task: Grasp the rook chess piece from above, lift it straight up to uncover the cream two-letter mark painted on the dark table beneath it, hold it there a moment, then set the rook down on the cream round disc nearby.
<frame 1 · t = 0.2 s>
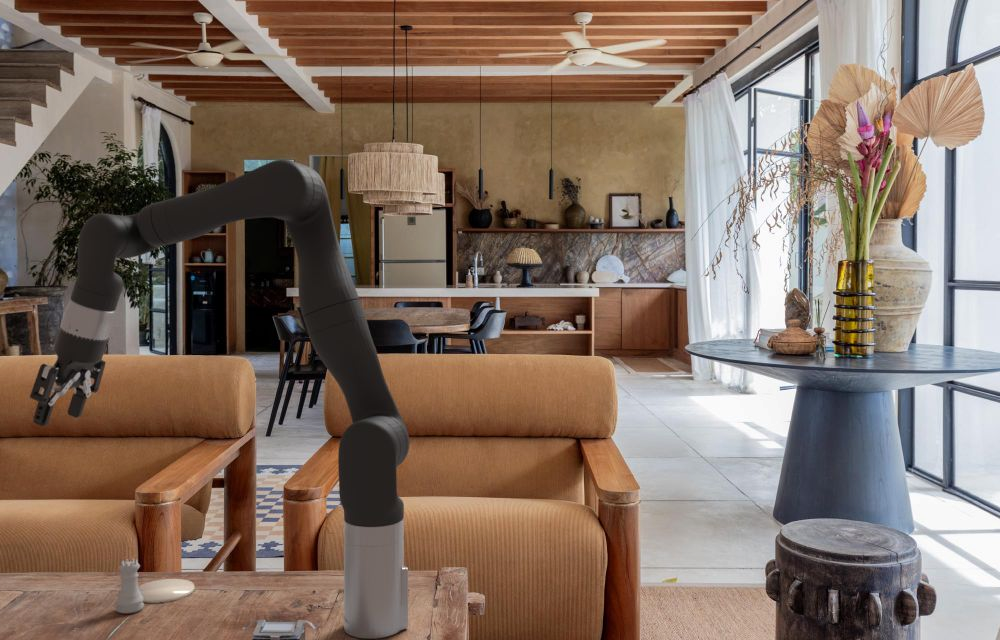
hand: (57, 420, 144), 30 cm above the table, tool tilted 20°, fingers open, 8 cm apart
cream round disc: (163, 592, 149), on the table
rook chess piece: (129, 610, 141), on the table, touching code mark
code mark: (129, 609, 141), on the table
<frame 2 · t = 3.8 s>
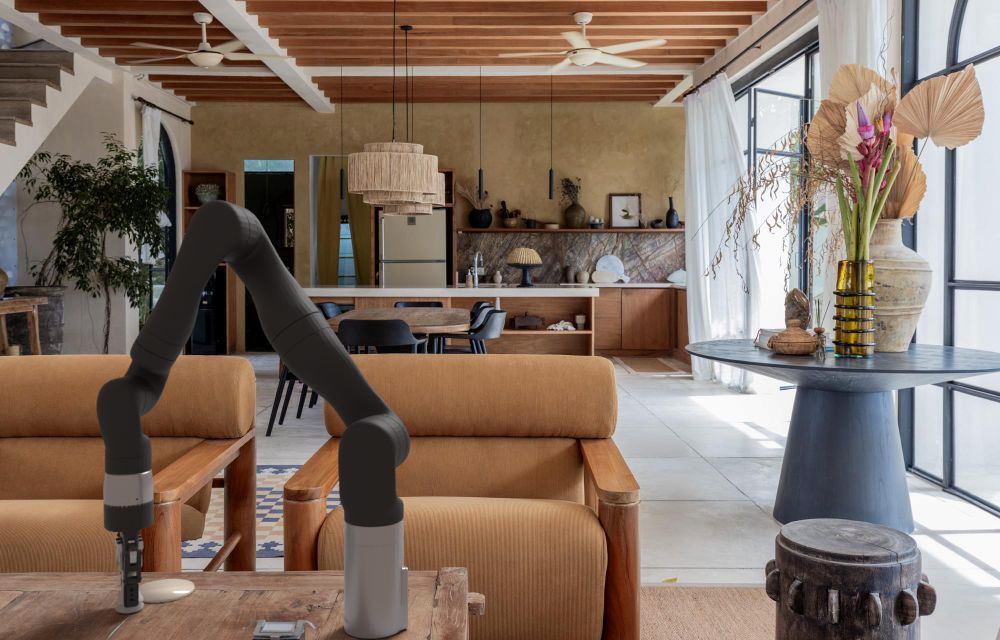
hand: (129, 600, 141), 1 cm above the table, tool pointing down, fingers closed on rook chess piece, 4 cm apart
rook chess piece: (129, 610, 141), on the table, touching code mark, gripper
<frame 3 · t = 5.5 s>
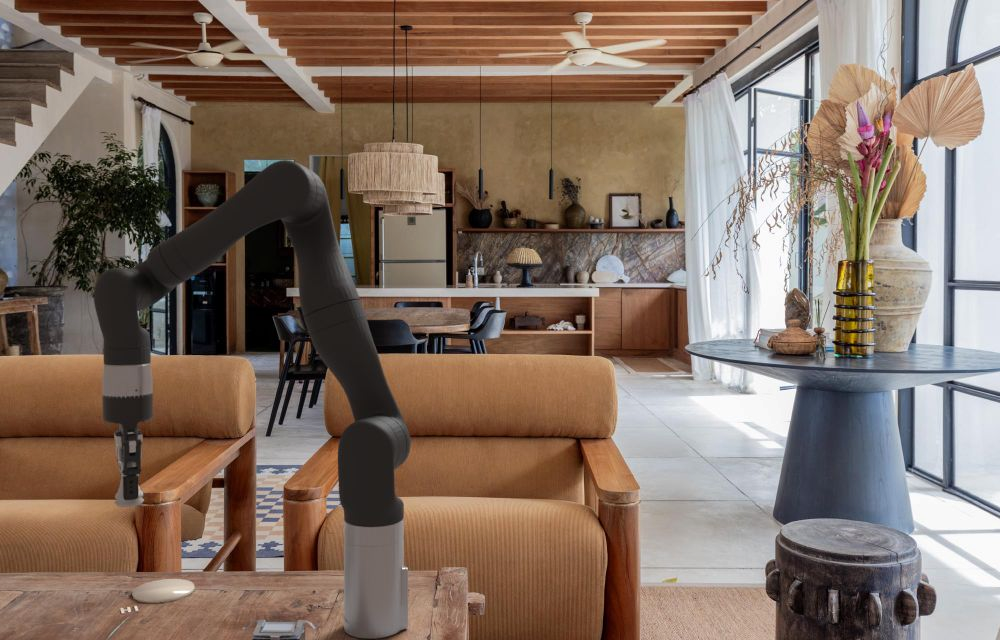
hand: (129, 495, 140), 19 cm above the table, tool pointing down, fingers closed on rook chess piece, 4 cm apart
rook chess piece: (129, 505, 140), point 17 cm above the table, touching gripper
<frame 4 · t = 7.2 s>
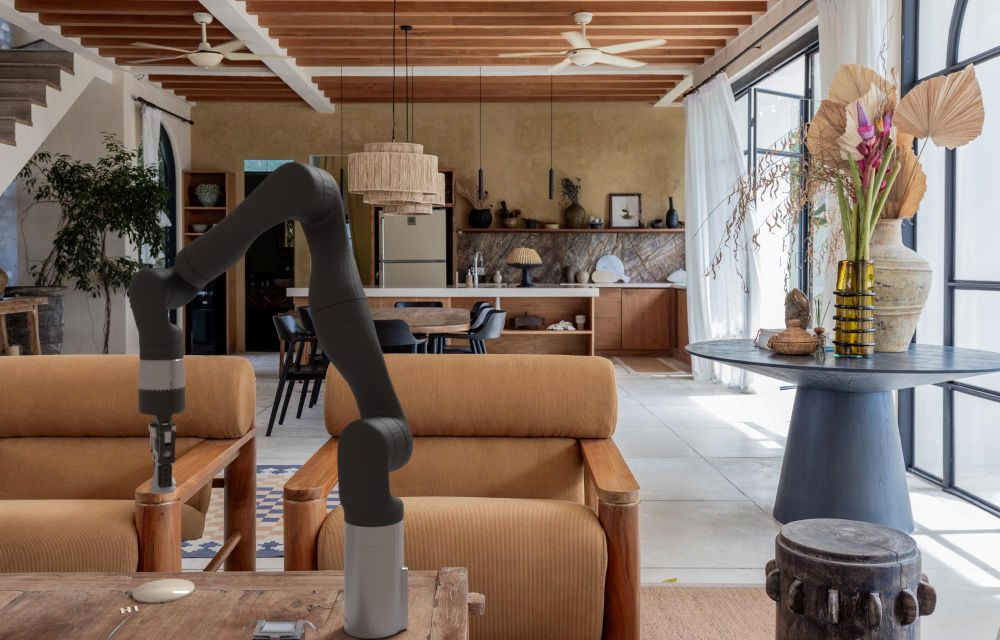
hand: (162, 483, 148), 19 cm above the table, tool pointing down, fingers closed on rook chess piece, 4 cm apart
rook chess piece: (162, 492, 148), point 17 cm above the table, touching gripper
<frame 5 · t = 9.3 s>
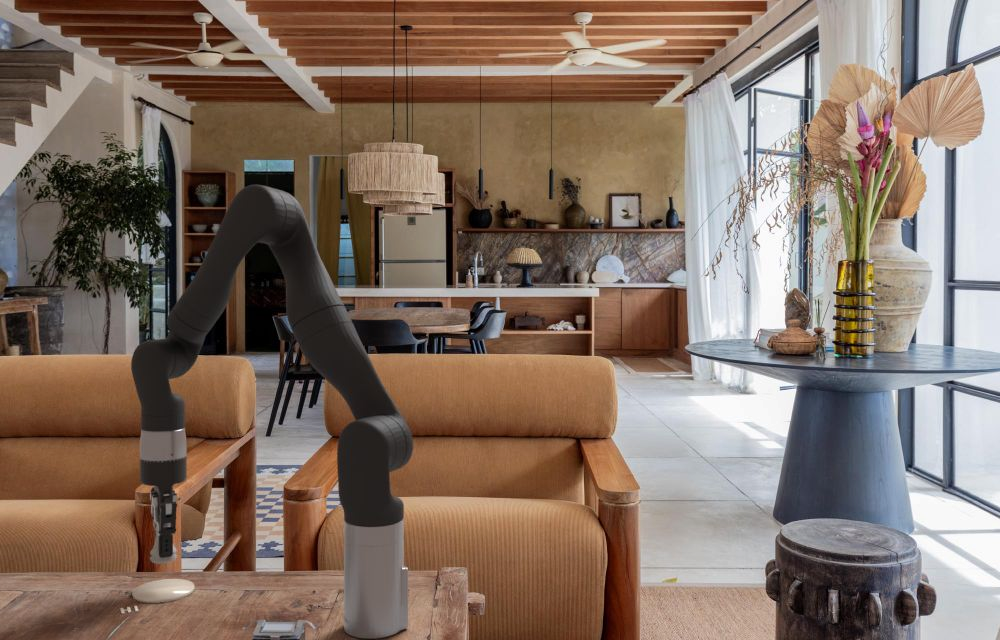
hand: (163, 552, 149), 7 cm above the table, tool pointing down, fingers closed on rook chess piece, 4 cm apart
rook chess piece: (163, 561, 149), point 5 cm above the table, touching gripper
when the fingers open (3 cm above the table, at t = 11.0 s): rook chess piece stays where it is, resting on cream round disc.
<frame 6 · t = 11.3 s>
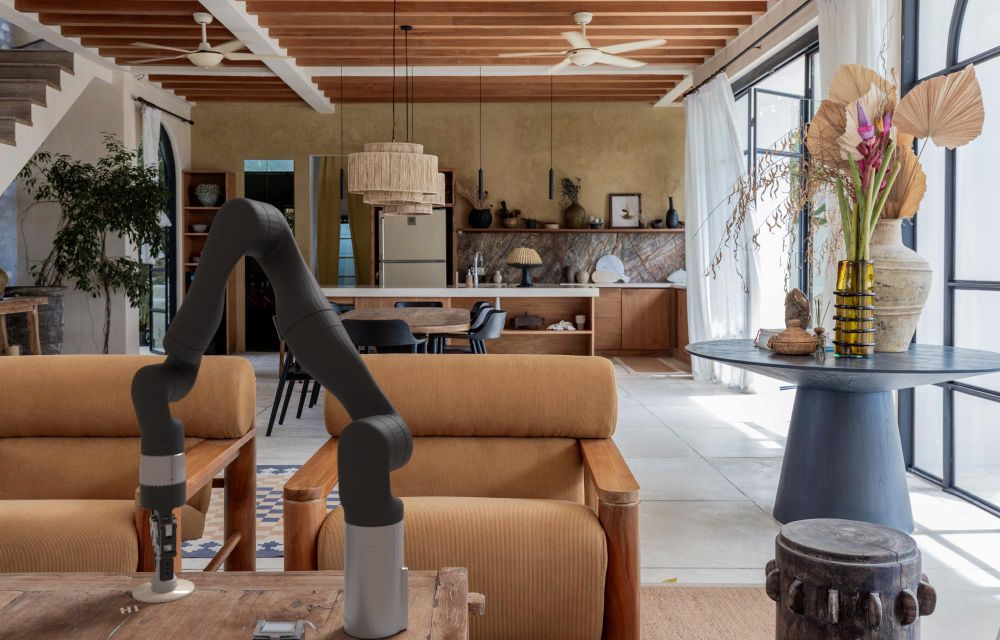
hand: (163, 573, 149), 3 cm above the table, tool pointing down, fingers open, 6 cm apart
rook chess piece: (164, 589, 149), resting on cream round disc
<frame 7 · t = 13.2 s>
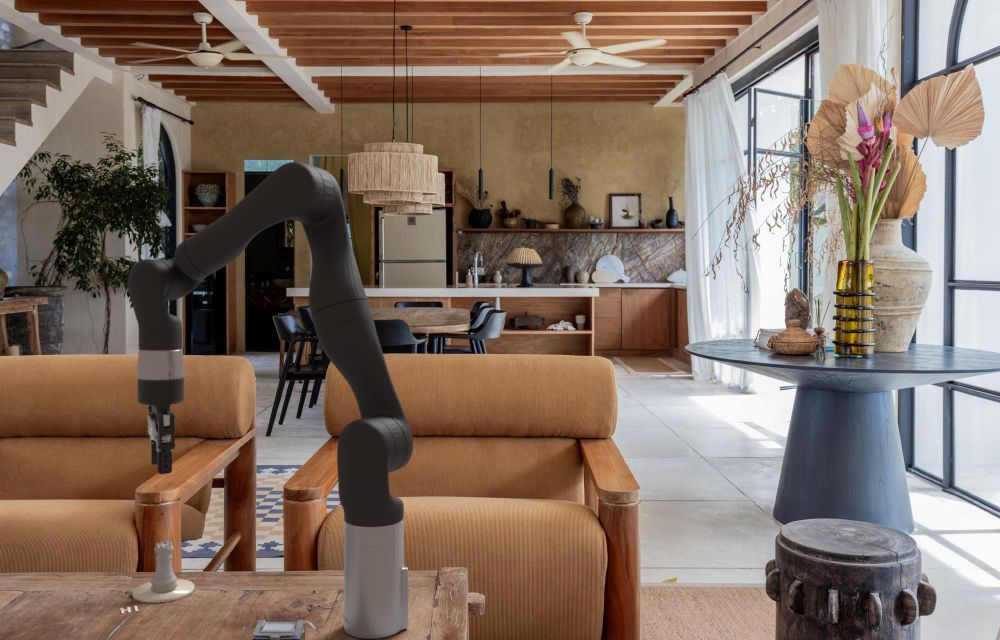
hand: (161, 468, 149), 21 cm above the table, tool pointing down, fingers open, 8 cm apart
nothing on the table moved.
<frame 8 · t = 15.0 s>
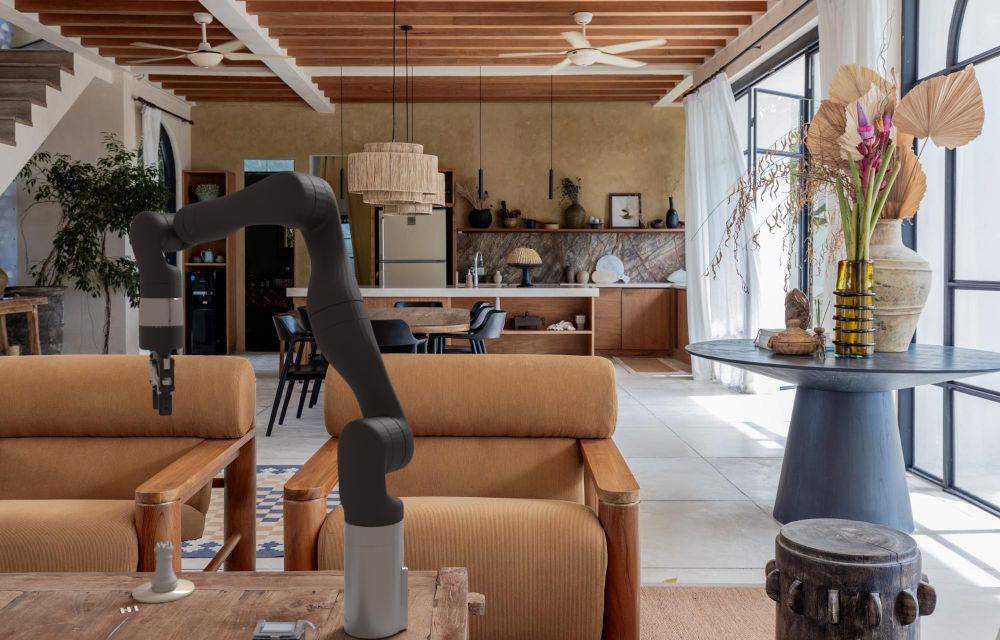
hand: (162, 412, 156), 30 cm above the table, tool pointing down, fingers open, 8 cm apart
nothing on the table moved.
at the end: rook chess piece 0.2 cm from the cream round disc (horizontally); rook chess piece tilted 0°; the gripper is holding nothing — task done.
